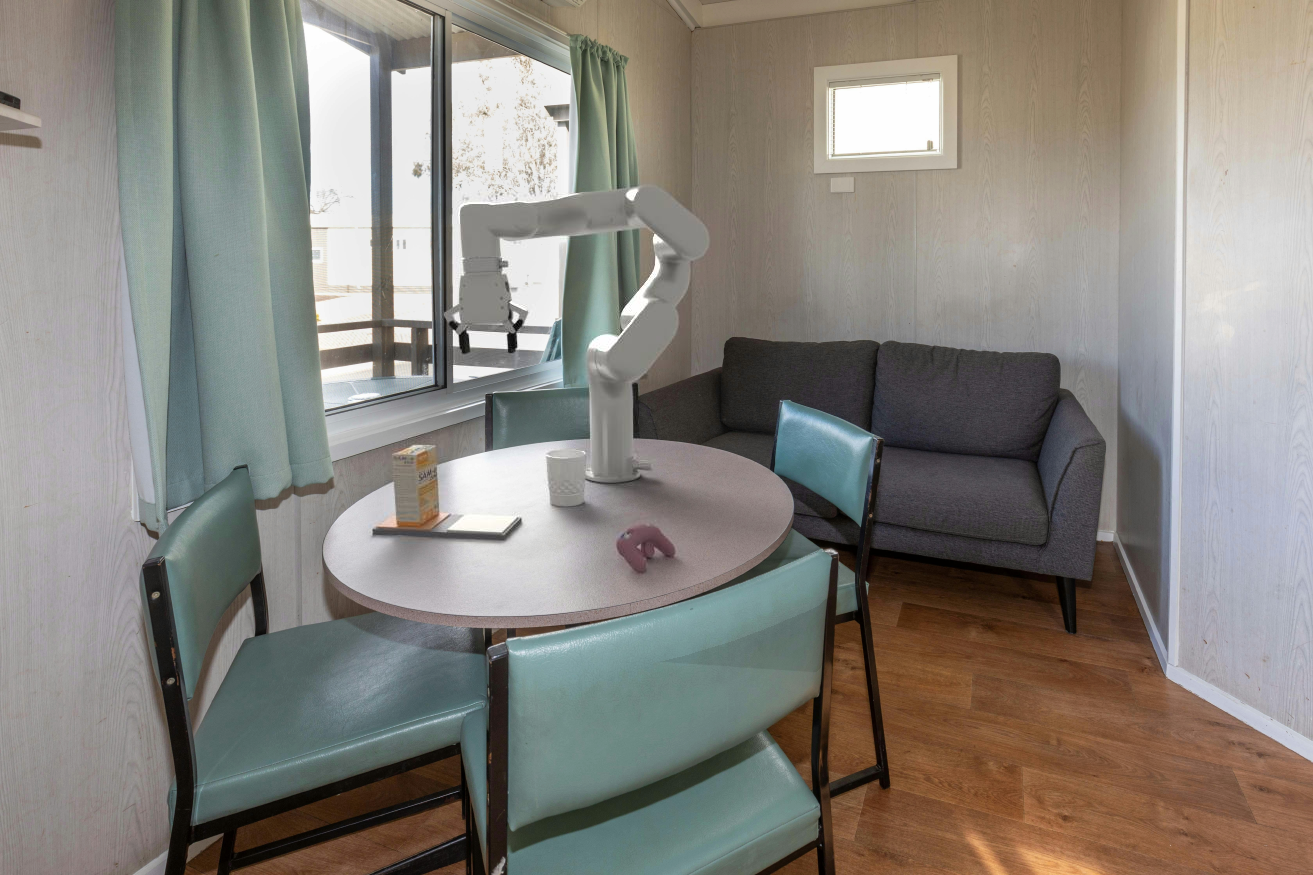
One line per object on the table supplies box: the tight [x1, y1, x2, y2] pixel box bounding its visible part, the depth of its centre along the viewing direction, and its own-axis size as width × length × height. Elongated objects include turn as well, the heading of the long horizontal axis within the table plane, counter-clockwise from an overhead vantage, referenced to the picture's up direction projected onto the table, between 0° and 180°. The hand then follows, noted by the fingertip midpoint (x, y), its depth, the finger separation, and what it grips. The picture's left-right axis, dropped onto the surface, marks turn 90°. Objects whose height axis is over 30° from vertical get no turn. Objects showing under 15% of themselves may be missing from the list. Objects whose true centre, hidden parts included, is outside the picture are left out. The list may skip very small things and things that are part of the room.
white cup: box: [545, 448, 587, 508], centre depth 159 cm, size 8×8×10 cm
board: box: [371, 512, 523, 542], centre depth 144 cm, size 24×10×1 cm, turn 82°
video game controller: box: [615, 522, 676, 574], centre depth 127 cm, size 10×5×7 cm, turn 147°
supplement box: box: [391, 444, 440, 527], centre depth 143 cm, size 8×5×13 cm, turn 170°
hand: (488, 352), depth 163 cm, fingers open, 9 cm apart
